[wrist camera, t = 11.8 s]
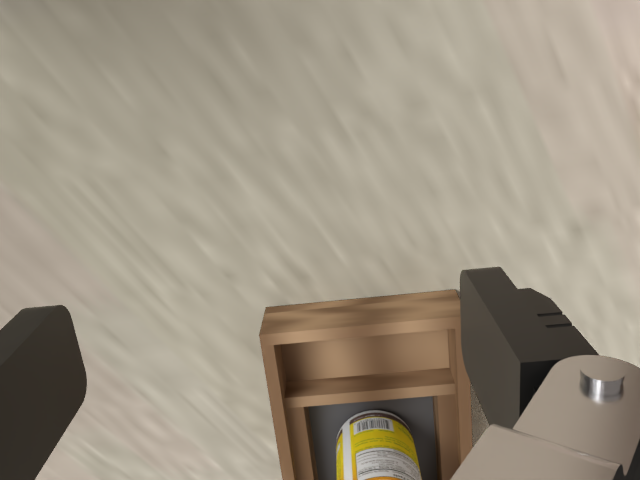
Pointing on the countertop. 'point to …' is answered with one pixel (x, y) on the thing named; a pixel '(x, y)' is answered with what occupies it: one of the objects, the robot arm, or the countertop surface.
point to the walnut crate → (367, 377)
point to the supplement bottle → (376, 448)
